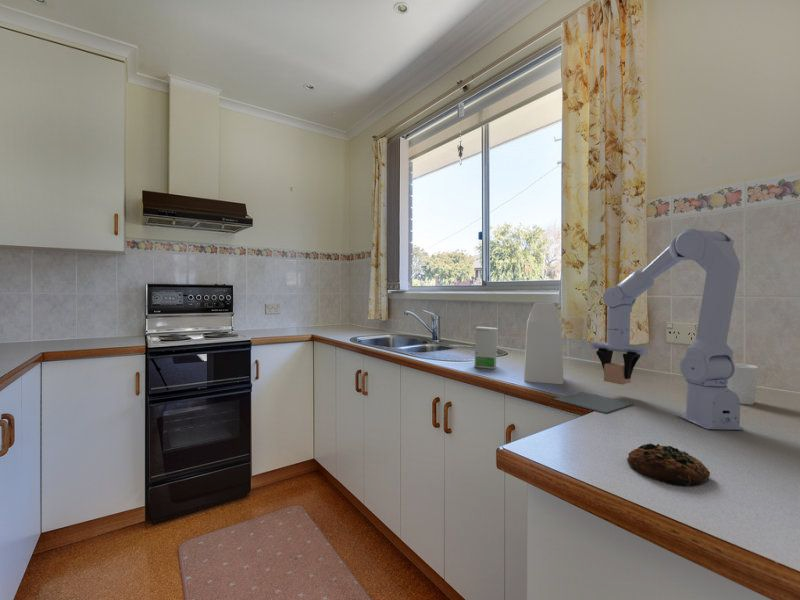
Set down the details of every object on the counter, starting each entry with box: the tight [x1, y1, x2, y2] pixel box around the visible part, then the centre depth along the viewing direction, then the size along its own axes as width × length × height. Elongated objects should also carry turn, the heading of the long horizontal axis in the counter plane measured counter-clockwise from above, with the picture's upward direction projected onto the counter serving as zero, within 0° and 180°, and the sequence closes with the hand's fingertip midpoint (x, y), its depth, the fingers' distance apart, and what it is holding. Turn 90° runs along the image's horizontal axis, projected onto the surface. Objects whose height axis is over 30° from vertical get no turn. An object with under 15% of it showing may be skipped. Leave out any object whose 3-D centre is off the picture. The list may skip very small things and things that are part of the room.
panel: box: [553, 391, 634, 415], centre depth 102 cm, size 14×14×1 cm
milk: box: [523, 302, 564, 385], centre depth 129 cm, size 12×12×26 cm
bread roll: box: [626, 443, 711, 487], centre depth 63 cm, size 11×11×5 cm
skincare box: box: [473, 326, 499, 370], centre depth 149 cm, size 8×7×16 cm
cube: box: [603, 361, 632, 386], centre depth 109 cm, size 5×5×5 cm
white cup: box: [727, 362, 759, 405], centre depth 105 cm, size 8×8×10 cm
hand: (617, 376), depth 109 cm, fingers closed on cube, 5 cm apart
